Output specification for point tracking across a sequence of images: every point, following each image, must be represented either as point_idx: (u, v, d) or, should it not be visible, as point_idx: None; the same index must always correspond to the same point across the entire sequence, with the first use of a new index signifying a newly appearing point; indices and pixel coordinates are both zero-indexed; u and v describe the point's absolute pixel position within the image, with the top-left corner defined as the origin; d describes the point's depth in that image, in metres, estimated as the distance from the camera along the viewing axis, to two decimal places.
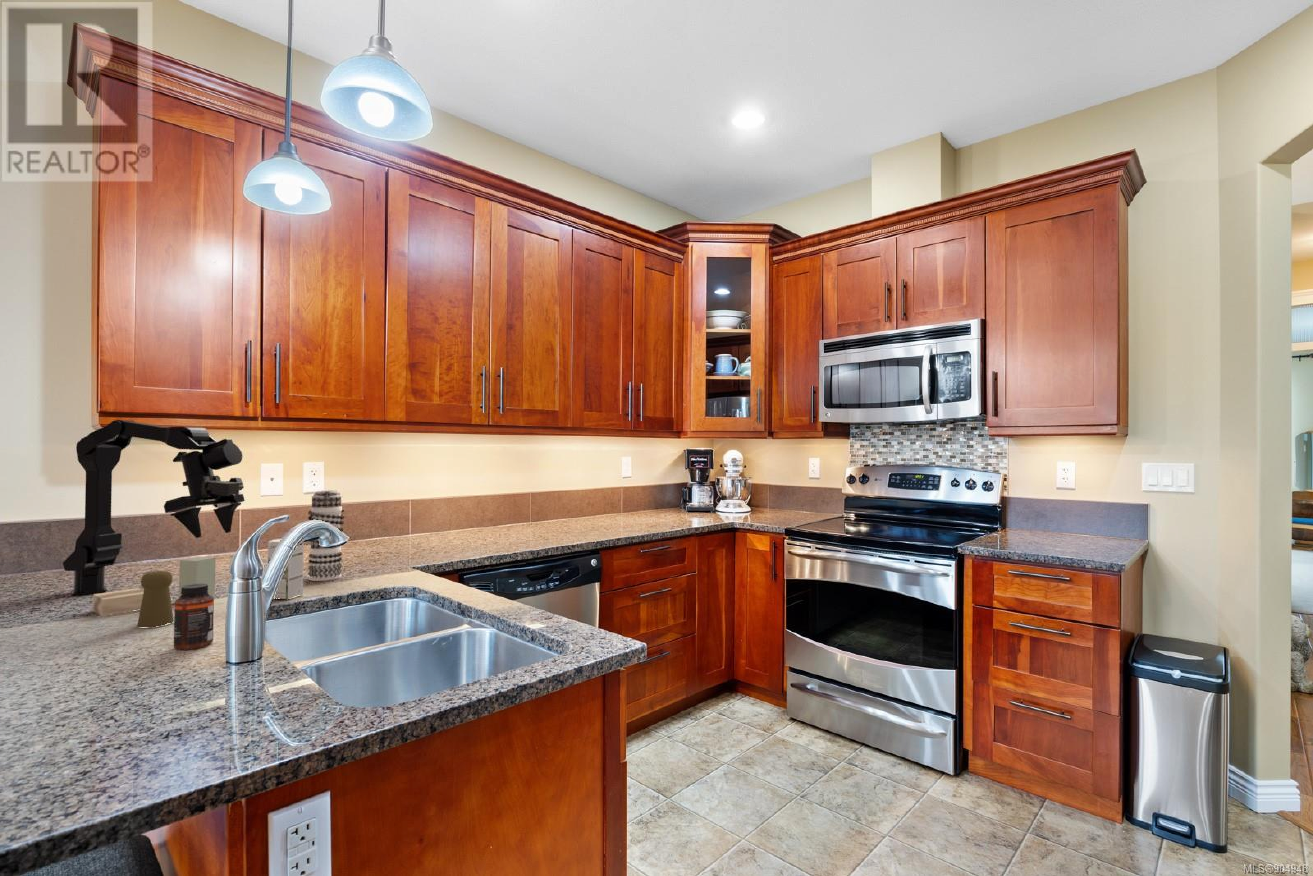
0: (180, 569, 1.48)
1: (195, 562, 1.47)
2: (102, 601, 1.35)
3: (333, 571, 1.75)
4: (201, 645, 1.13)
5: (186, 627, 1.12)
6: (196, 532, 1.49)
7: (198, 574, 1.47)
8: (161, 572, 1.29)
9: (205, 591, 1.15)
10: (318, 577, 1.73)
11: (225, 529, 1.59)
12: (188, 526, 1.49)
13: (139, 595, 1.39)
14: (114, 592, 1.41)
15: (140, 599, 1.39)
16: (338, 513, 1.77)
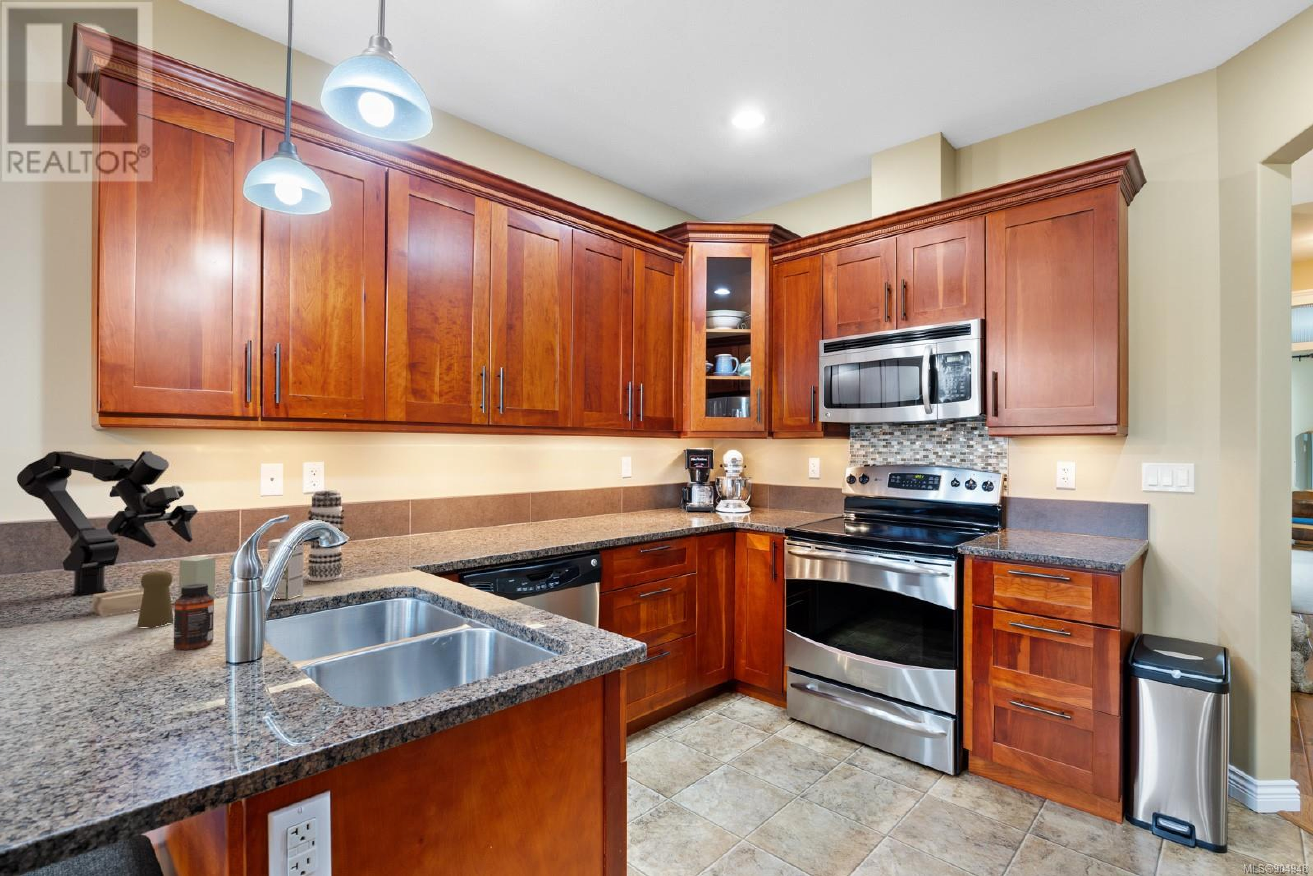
0: (180, 569, 1.48)
1: (195, 562, 1.47)
2: (102, 601, 1.35)
3: (333, 571, 1.75)
4: (201, 645, 1.13)
5: (186, 627, 1.12)
6: (149, 542, 1.47)
7: (198, 574, 1.47)
8: (161, 572, 1.29)
9: (205, 591, 1.15)
10: (318, 577, 1.73)
11: (187, 539, 1.56)
12: (140, 540, 1.47)
13: (139, 595, 1.39)
14: (114, 592, 1.41)
15: (140, 599, 1.40)
16: (338, 513, 1.77)
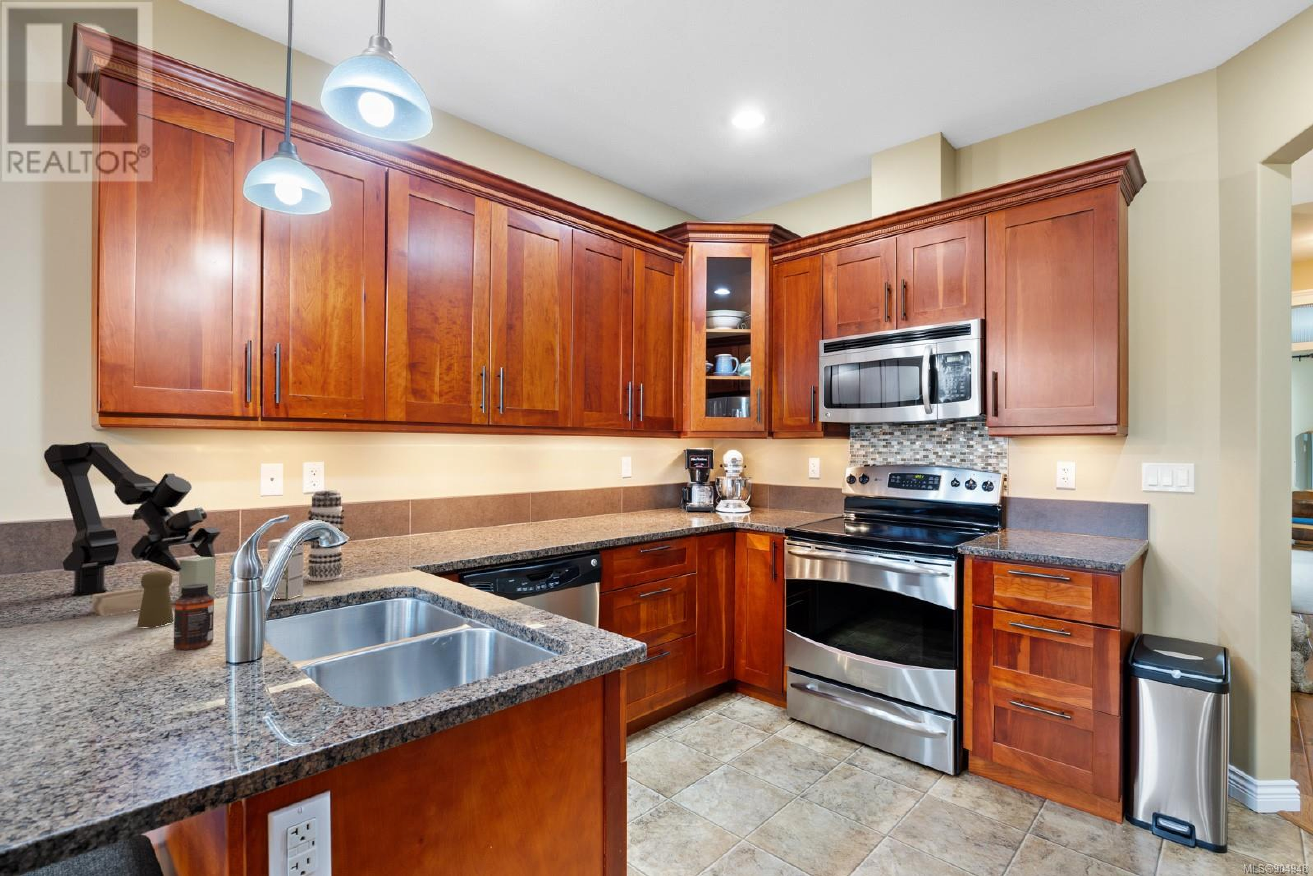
0: None
1: (195, 562, 1.47)
2: (103, 601, 1.35)
3: (333, 571, 1.75)
4: (201, 645, 1.13)
5: (186, 627, 1.12)
6: (174, 566, 1.45)
7: (198, 574, 1.47)
8: (161, 572, 1.29)
9: (205, 591, 1.15)
10: (318, 577, 1.73)
11: None
12: (164, 564, 1.45)
13: (140, 595, 1.40)
14: (113, 592, 1.41)
15: (141, 599, 1.40)
16: (338, 513, 1.77)
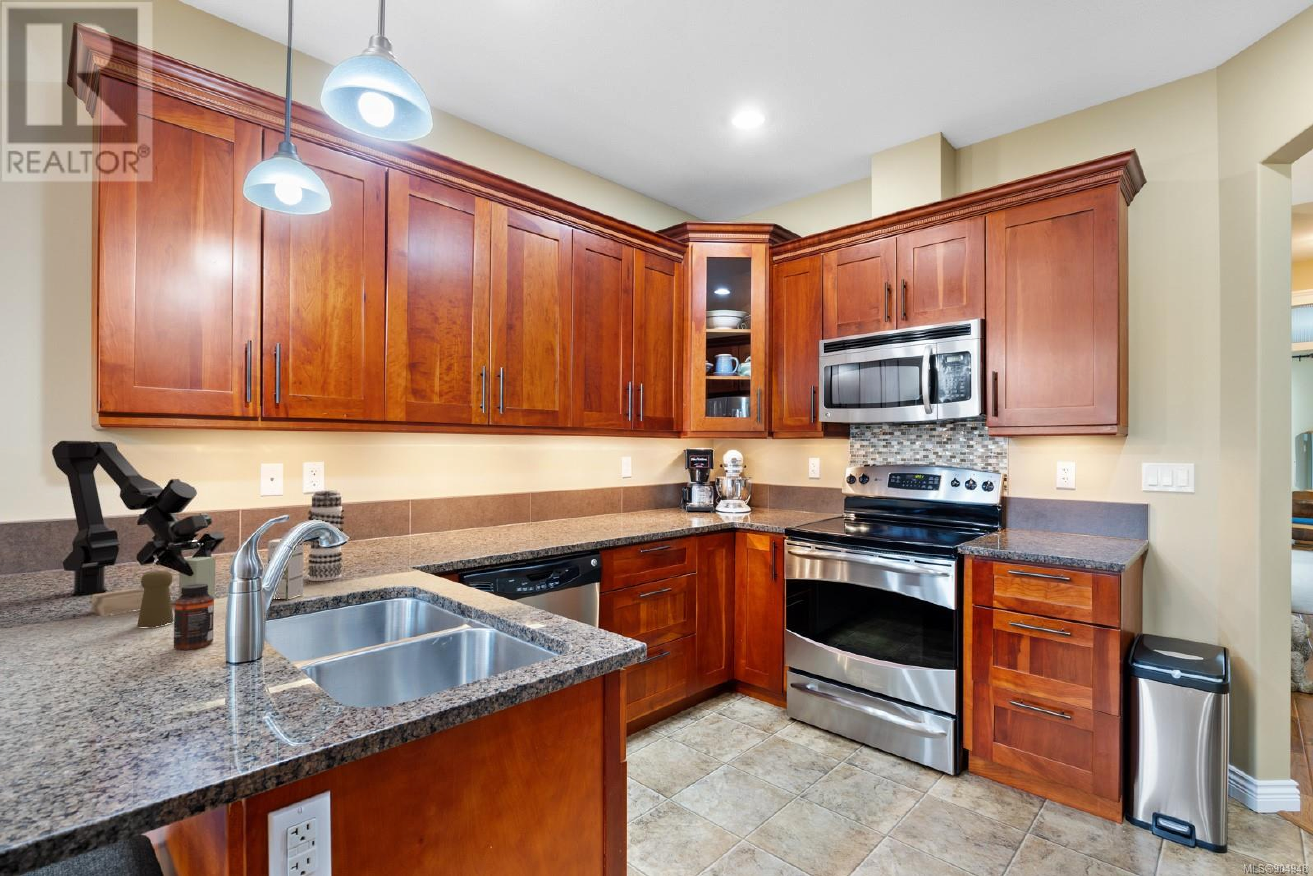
0: None
1: (195, 562, 1.47)
2: (103, 601, 1.35)
3: (333, 571, 1.75)
4: (201, 645, 1.13)
5: (186, 627, 1.12)
6: (187, 570, 1.47)
7: (198, 574, 1.47)
8: (161, 572, 1.29)
9: (205, 591, 1.15)
10: (318, 577, 1.73)
11: None
12: (177, 569, 1.47)
13: (140, 595, 1.40)
14: (113, 592, 1.41)
15: (141, 599, 1.40)
16: (338, 513, 1.77)
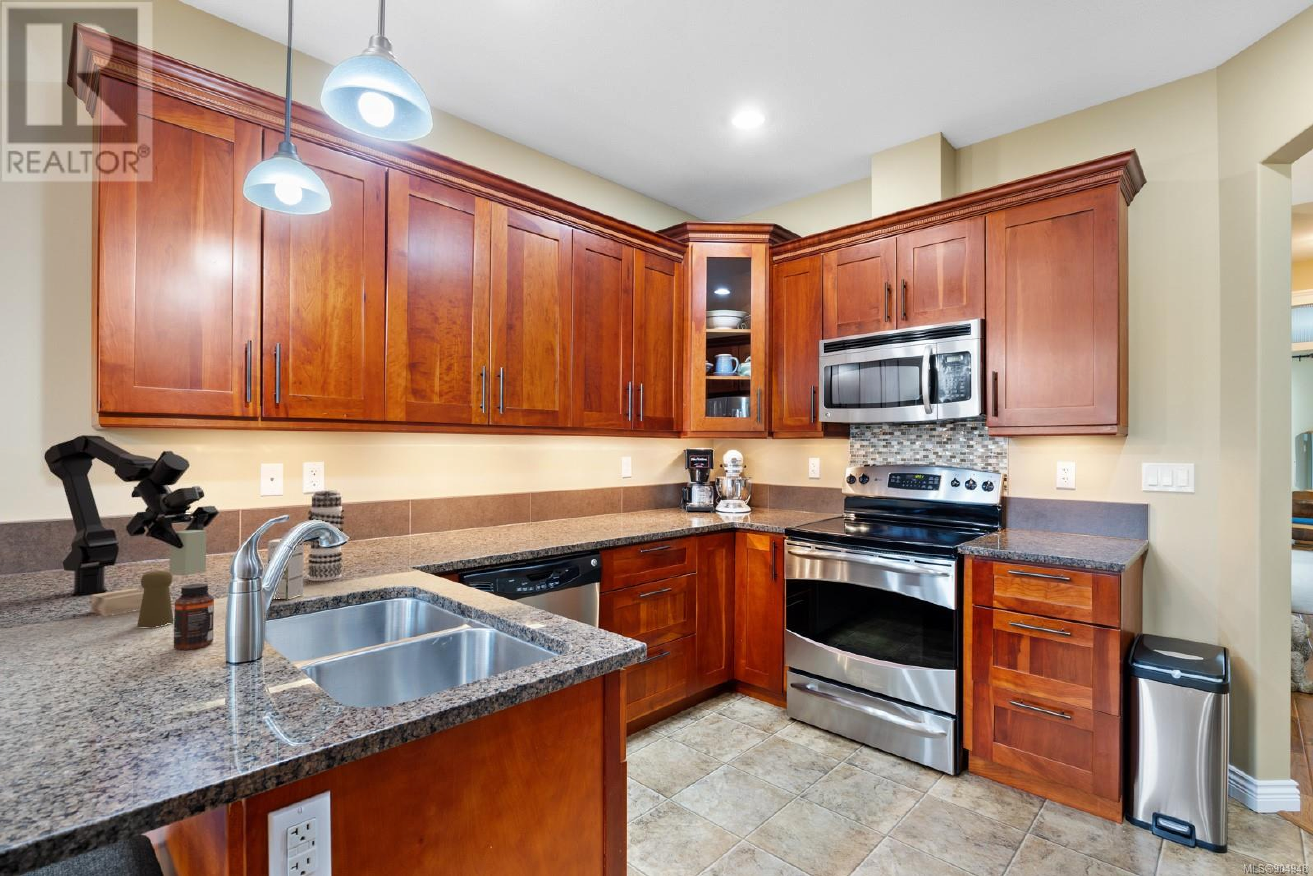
0: None
1: (185, 534, 1.46)
2: (104, 601, 1.35)
3: (333, 571, 1.75)
4: (201, 645, 1.13)
5: (186, 627, 1.12)
6: (176, 543, 1.45)
7: (188, 546, 1.46)
8: (161, 572, 1.29)
9: (205, 591, 1.15)
10: (318, 577, 1.73)
11: None
12: (167, 541, 1.45)
13: (141, 595, 1.40)
14: (113, 592, 1.41)
15: None
16: (338, 513, 1.77)
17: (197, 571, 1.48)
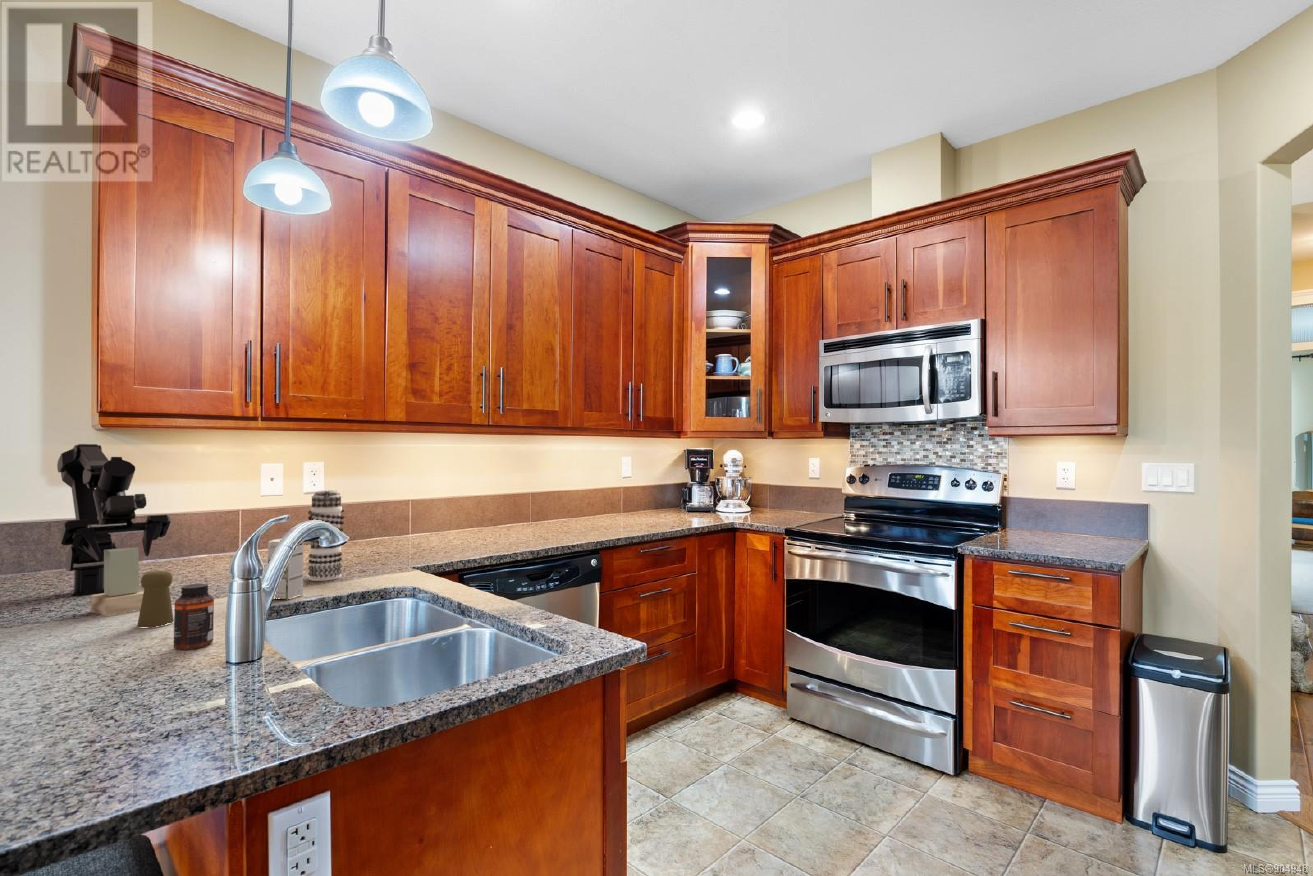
0: (104, 559, 1.40)
1: (109, 553, 1.37)
2: (106, 601, 1.35)
3: (333, 571, 1.75)
4: (201, 645, 1.13)
5: (186, 627, 1.12)
6: (95, 555, 1.36)
7: (113, 565, 1.37)
8: (161, 572, 1.29)
9: (205, 591, 1.15)
10: (318, 577, 1.73)
11: (146, 553, 1.43)
12: (89, 552, 1.37)
13: (142, 594, 1.40)
14: None
15: None
16: (338, 513, 1.77)
17: (127, 592, 1.39)
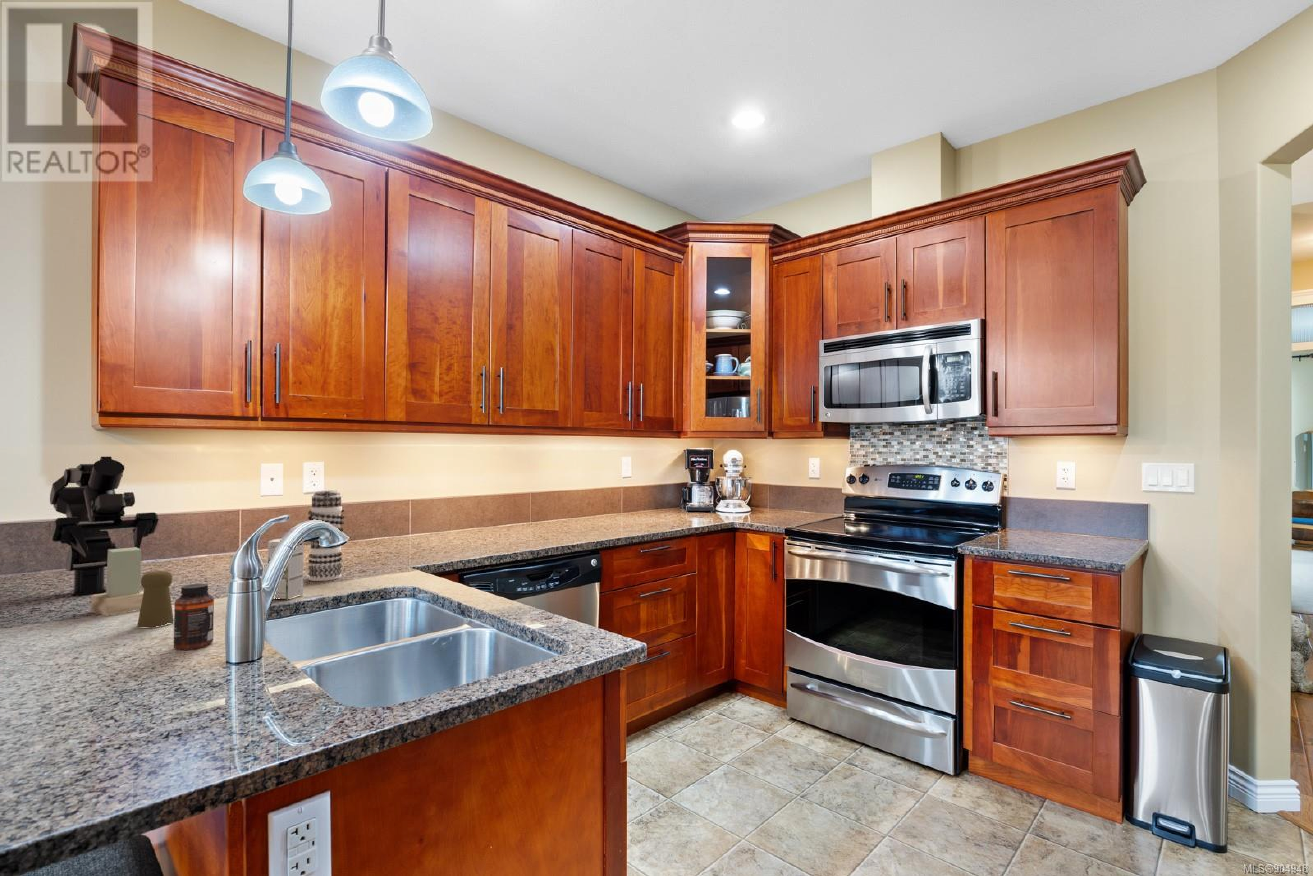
0: None
1: (112, 553, 1.37)
2: (106, 601, 1.35)
3: (333, 571, 1.75)
4: (201, 645, 1.13)
5: (186, 627, 1.12)
6: (83, 551, 1.41)
7: (115, 566, 1.37)
8: (161, 572, 1.29)
9: (205, 591, 1.15)
10: (318, 577, 1.73)
11: None
12: (77, 548, 1.42)
13: (142, 594, 1.40)
14: None
15: None
16: (338, 513, 1.77)
17: (128, 593, 1.39)
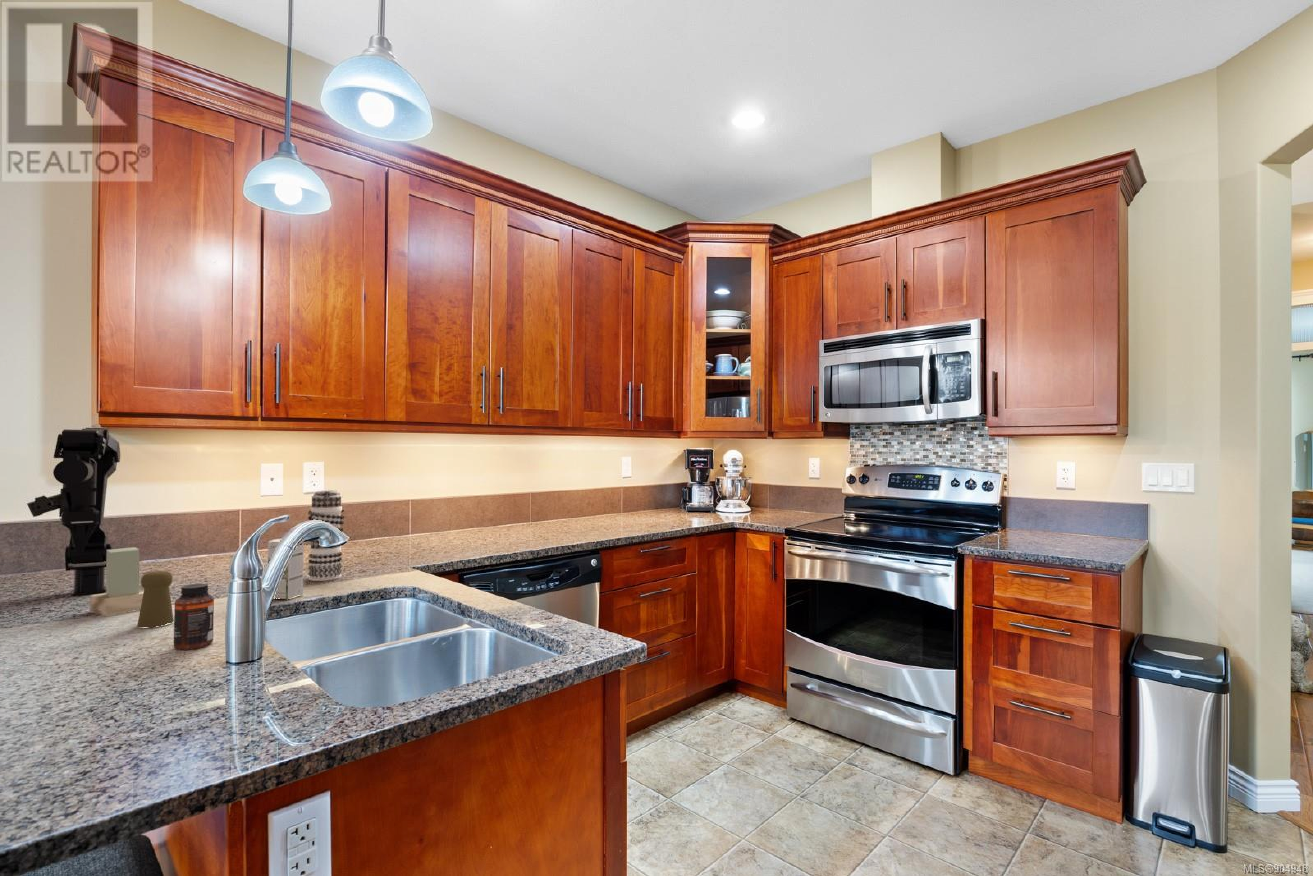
0: (106, 559, 1.39)
1: (109, 554, 1.36)
2: (106, 601, 1.35)
3: (333, 571, 1.75)
4: (201, 645, 1.13)
5: (186, 627, 1.12)
6: None
7: (113, 567, 1.37)
8: (161, 572, 1.29)
9: (205, 591, 1.15)
10: (318, 577, 1.73)
11: None
12: None
13: (142, 594, 1.40)
14: None
15: None
16: (338, 513, 1.77)
17: (127, 593, 1.38)
